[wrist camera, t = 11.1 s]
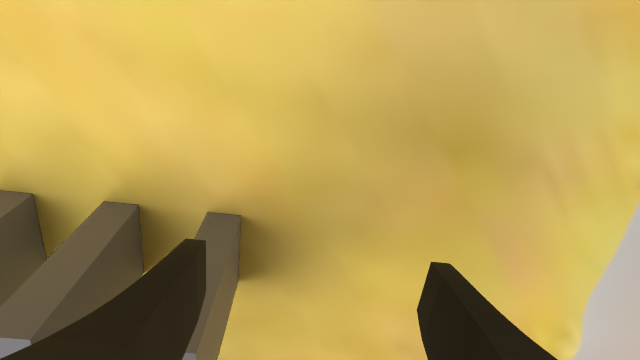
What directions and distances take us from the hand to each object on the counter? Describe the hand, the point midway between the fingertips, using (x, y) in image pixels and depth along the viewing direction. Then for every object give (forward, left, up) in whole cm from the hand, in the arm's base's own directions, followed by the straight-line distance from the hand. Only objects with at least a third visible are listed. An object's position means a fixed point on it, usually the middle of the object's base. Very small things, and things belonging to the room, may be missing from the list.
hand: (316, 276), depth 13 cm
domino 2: (-7, +11, -10) cm, 17 cm away
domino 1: (-7, +5, -10) cm, 14 cm away
